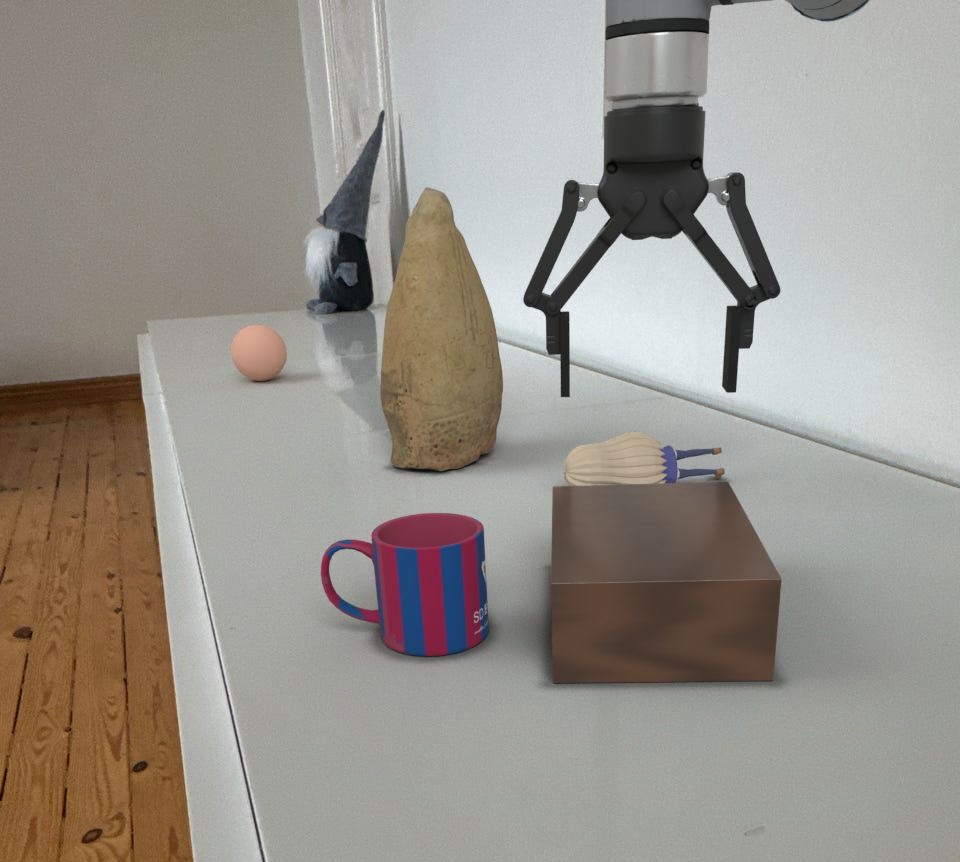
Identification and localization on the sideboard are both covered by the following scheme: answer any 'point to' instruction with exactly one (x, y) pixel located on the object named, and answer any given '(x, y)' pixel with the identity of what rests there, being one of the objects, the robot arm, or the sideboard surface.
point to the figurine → (631, 462)
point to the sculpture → (439, 348)
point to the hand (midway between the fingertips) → (646, 392)
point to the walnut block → (659, 586)
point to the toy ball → (258, 352)
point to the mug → (423, 583)
